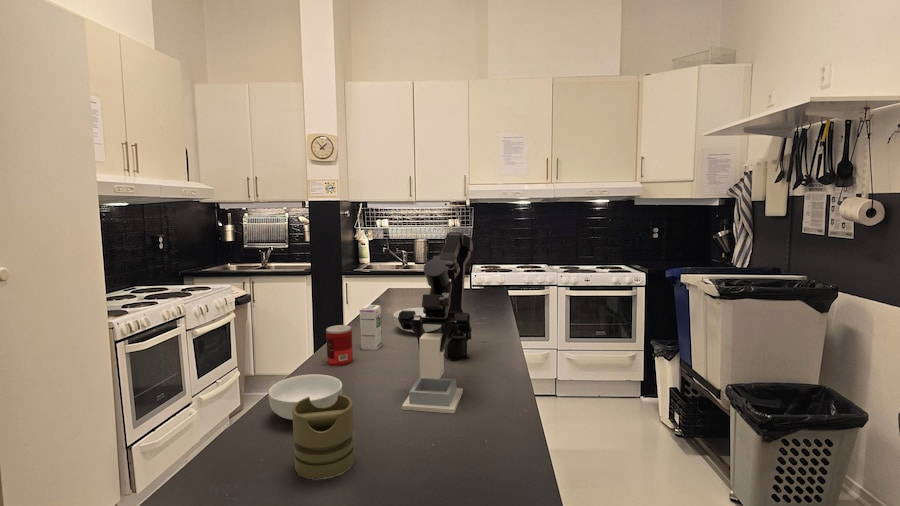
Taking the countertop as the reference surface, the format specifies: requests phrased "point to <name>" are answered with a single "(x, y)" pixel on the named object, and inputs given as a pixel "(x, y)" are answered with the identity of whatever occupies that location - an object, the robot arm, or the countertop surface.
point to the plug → (431, 356)
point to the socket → (433, 395)
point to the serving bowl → (418, 312)
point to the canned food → (339, 345)
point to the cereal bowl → (303, 392)
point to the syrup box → (371, 327)
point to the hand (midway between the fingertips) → (430, 350)
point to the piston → (323, 437)
